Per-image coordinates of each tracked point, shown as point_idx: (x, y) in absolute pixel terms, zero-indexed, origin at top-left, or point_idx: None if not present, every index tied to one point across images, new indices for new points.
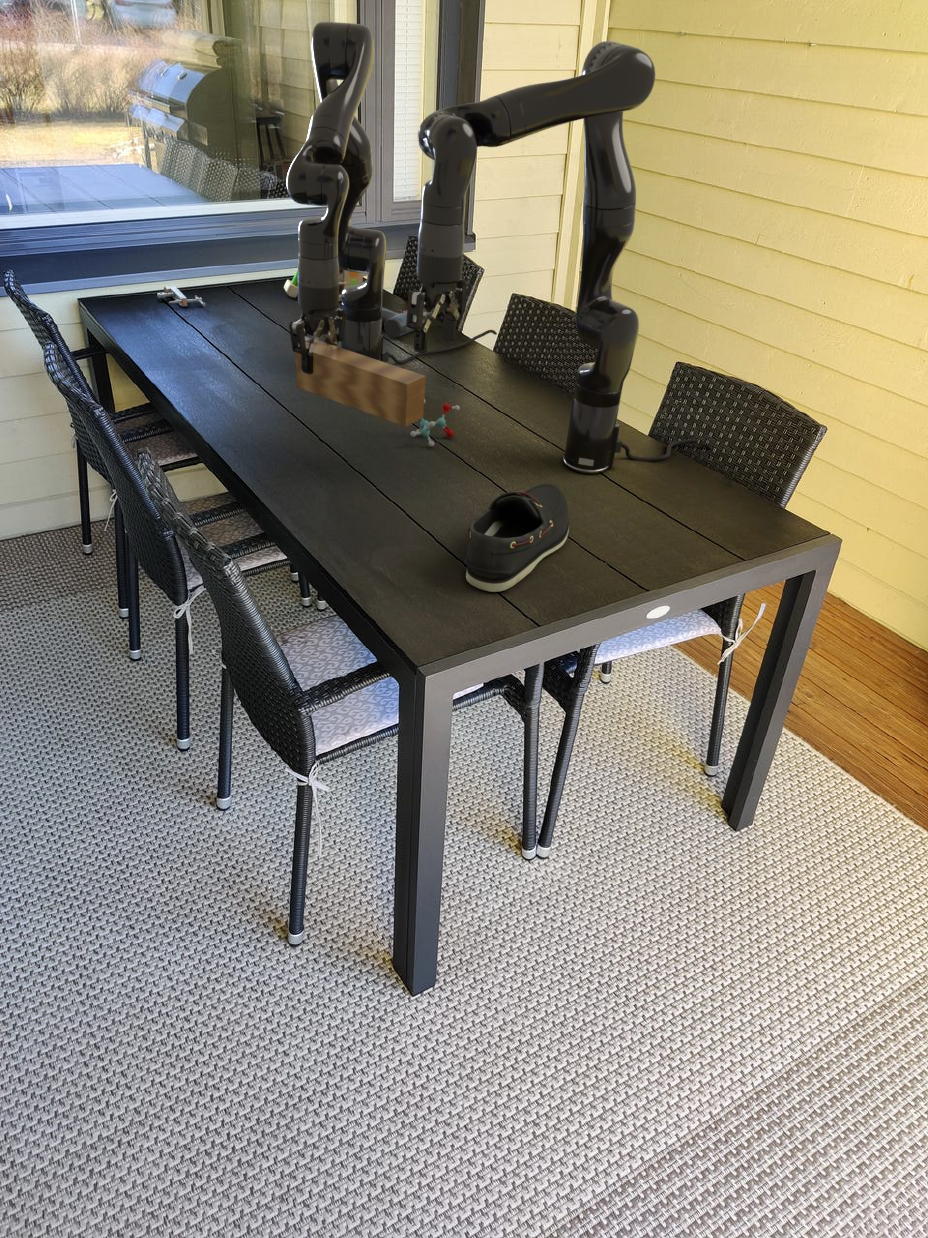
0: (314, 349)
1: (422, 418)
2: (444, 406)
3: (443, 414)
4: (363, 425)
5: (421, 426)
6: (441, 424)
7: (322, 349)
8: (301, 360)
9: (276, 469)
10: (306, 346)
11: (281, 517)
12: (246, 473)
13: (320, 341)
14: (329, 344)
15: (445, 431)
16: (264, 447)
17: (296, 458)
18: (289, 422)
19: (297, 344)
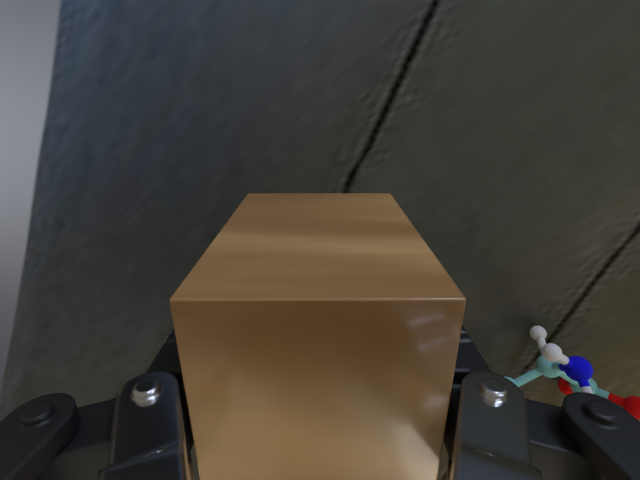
0: (249, 441)
1: (558, 370)
2: (631, 411)
3: (607, 398)
4: (512, 195)
5: (537, 361)
6: (572, 390)
7: (298, 475)
8: (159, 354)
9: (135, 212)
10: (249, 364)
11: (10, 362)
12: (57, 174)
13: (445, 365)
14: (431, 448)
15: (565, 384)
16: (198, 90)
17: (219, 205)
18: (391, 7)
19: (29, 473)
